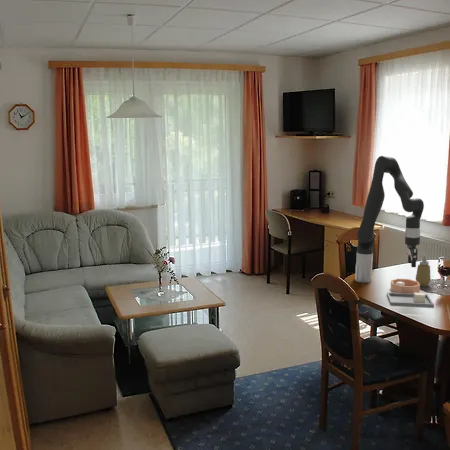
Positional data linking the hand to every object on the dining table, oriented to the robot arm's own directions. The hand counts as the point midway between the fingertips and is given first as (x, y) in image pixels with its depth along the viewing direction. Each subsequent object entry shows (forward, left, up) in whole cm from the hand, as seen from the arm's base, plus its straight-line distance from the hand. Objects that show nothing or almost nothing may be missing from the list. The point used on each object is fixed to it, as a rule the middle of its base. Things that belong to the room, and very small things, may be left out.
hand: (411, 265), depth 274 cm
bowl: (-2, +7, -17) cm, 19 cm away
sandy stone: (+3, -11, -17) cm, 20 cm away
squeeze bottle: (+10, +20, -17) cm, 29 cm away
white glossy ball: (-4, +7, -16) cm, 18 cm away
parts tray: (-2, -11, -17) cm, 20 cm away
